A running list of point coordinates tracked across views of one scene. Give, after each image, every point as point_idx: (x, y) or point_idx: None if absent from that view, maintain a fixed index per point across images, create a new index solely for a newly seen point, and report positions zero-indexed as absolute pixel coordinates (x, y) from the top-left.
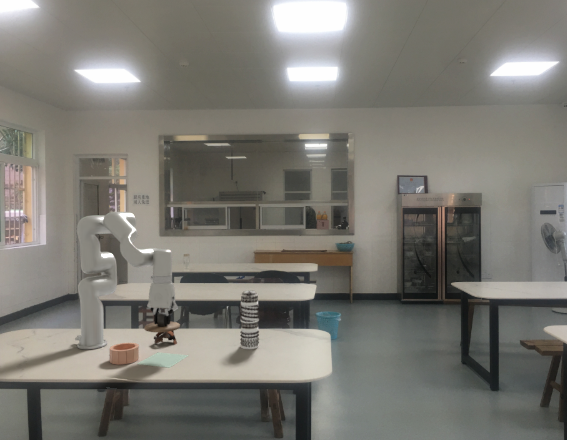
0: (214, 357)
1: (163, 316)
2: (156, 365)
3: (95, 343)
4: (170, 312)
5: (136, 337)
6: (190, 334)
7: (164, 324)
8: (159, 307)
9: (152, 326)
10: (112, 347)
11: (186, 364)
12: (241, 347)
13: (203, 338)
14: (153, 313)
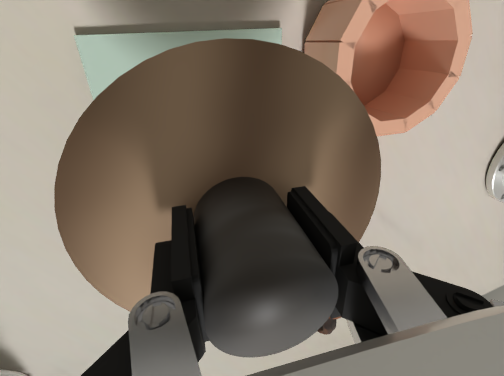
0: (8, 255)
1: (217, 267)
2: (169, 41)
3: None
4: (98, 372)
5: (422, 268)
6: (284, 355)
7: (191, 208)
8: (314, 373)
9: (307, 160)
10: (459, 23)
11: (49, 130)
12: (10, 371)
13: (222, 355)
14: (387, 258)
